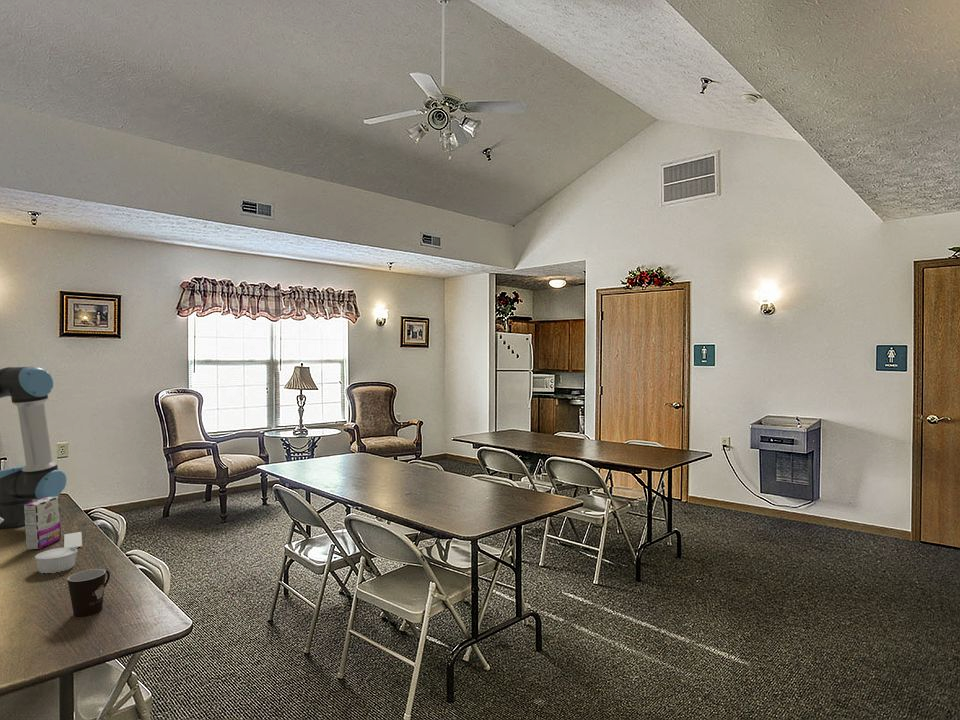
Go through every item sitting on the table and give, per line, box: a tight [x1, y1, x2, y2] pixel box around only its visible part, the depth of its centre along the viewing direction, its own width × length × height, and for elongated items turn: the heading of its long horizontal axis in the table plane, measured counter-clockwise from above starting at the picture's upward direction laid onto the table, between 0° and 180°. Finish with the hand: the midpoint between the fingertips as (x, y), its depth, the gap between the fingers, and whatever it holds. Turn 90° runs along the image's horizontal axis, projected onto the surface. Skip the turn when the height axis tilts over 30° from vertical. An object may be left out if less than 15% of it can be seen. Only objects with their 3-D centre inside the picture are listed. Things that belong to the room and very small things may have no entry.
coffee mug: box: [66, 568, 111, 618], centre depth 160 cm, size 12×9×10 cm
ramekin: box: [34, 546, 78, 575], centre depth 191 cm, size 11×11×5 cm
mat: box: [63, 531, 83, 549], centre depth 218 cm, size 20×5×1 cm, turn 35°
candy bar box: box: [24, 496, 62, 550], centre depth 214 cm, size 11×5×16 cm, turn 179°
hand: (0, 523), depth 207 cm, fingers closed
